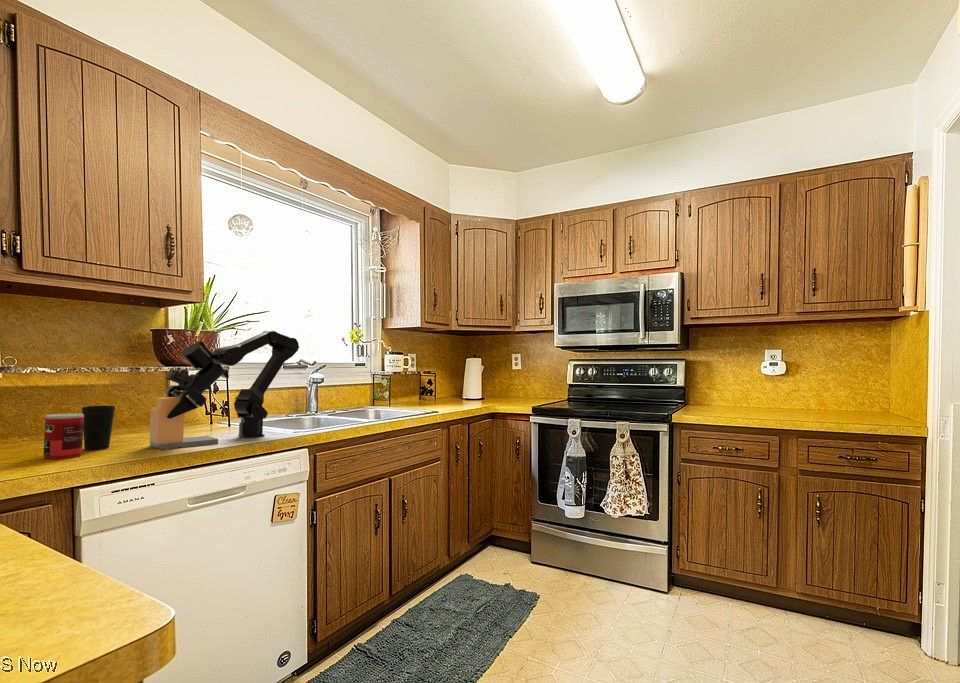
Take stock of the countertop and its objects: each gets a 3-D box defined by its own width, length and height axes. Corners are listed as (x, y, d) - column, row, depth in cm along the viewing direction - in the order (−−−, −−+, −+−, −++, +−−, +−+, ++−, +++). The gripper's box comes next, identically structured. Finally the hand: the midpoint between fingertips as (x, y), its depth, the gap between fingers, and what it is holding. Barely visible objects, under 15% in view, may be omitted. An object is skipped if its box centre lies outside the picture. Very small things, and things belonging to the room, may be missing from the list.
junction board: (207, 440, 162) (207, 426, 163) (218, 443, 156) (218, 429, 157) (149, 445, 151) (150, 430, 151) (159, 449, 145) (160, 434, 145)
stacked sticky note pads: (175, 439, 155) (177, 396, 155) (183, 441, 150) (184, 398, 151) (149, 441, 150) (151, 397, 150) (157, 444, 145) (159, 399, 146)
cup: (75, 451, 140) (77, 408, 140) (85, 447, 147) (87, 405, 147) (108, 450, 143) (110, 407, 143) (116, 445, 150) (118, 405, 150)
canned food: (49, 455, 135) (51, 413, 135) (86, 453, 138) (88, 412, 138) (37, 460, 128) (40, 416, 128) (76, 458, 131) (78, 416, 131)
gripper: (174, 359, 160) (132, 396, 151) (196, 360, 148) (151, 400, 139) (200, 384, 166) (160, 420, 157) (223, 386, 153) (181, 426, 145)
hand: (162, 416), depth 149 cm, fingers open, 9 cm apart
